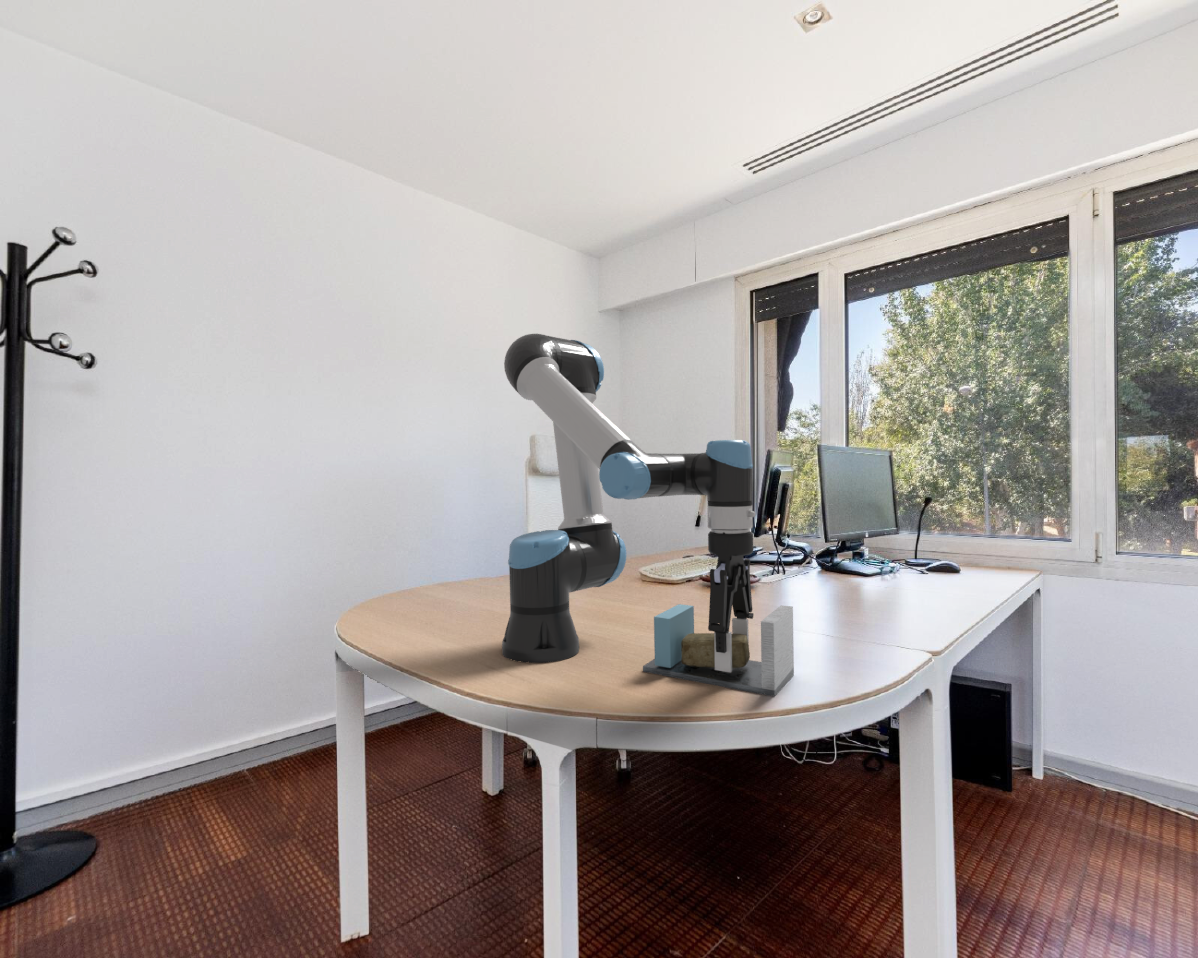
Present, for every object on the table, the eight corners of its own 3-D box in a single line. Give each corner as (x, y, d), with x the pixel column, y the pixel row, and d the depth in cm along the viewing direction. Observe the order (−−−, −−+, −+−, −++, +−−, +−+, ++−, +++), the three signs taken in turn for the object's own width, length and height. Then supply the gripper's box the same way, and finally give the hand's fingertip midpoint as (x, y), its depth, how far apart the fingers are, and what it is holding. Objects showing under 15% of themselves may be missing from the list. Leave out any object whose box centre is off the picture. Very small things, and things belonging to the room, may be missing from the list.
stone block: (748, 670, 95) (745, 640, 96) (679, 669, 99) (677, 640, 99) (751, 659, 101) (748, 630, 101) (686, 658, 105) (683, 631, 105)
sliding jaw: (654, 665, 101) (653, 616, 101) (679, 648, 110) (678, 604, 110) (670, 667, 100) (669, 618, 99) (694, 650, 109) (693, 605, 108)
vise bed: (642, 674, 102) (641, 606, 101) (671, 655, 112) (670, 593, 112) (774, 700, 89) (773, 623, 89) (793, 675, 100) (792, 606, 99)
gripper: (730, 538, 88) (733, 686, 88) (769, 525, 106) (771, 649, 106) (685, 536, 92) (687, 678, 92) (729, 524, 110) (731, 643, 110)
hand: (732, 662), depth 99 cm, fingers open, 8 cm apart
